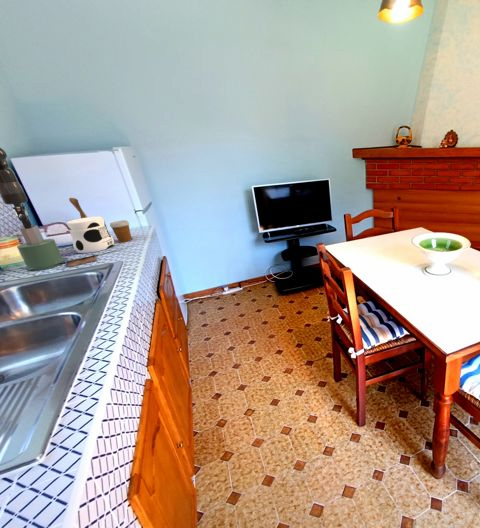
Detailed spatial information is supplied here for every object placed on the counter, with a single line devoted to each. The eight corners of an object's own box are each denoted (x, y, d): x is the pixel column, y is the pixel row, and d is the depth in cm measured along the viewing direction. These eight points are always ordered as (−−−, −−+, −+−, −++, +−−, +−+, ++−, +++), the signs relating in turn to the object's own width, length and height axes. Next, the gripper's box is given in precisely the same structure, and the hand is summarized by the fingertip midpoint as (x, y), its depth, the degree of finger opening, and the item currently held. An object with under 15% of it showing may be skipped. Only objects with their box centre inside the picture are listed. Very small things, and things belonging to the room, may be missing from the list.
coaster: (68, 267, 145) (68, 266, 144) (67, 262, 152) (66, 261, 152) (97, 260, 152) (96, 259, 151) (94, 256, 159) (93, 255, 159)
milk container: (77, 251, 168) (63, 220, 162) (114, 244, 179) (103, 214, 172) (77, 259, 156) (63, 225, 149) (117, 250, 166) (105, 218, 160)
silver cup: (27, 245, 140) (19, 229, 137) (27, 243, 144) (19, 227, 141) (44, 242, 144) (37, 226, 141) (44, 240, 148) (37, 224, 145)
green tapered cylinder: (27, 273, 140) (14, 249, 135) (27, 266, 149) (16, 244, 144) (66, 264, 149) (56, 241, 144) (64, 258, 158) (54, 237, 153)
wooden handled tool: (89, 247, 175) (69, 199, 165) (86, 241, 188) (67, 196, 178) (103, 244, 180) (85, 197, 169) (99, 238, 193) (82, 195, 182)
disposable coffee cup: (114, 244, 178) (106, 225, 174) (118, 240, 186) (111, 221, 182) (132, 242, 181) (125, 222, 177) (136, 237, 190) (130, 219, 185)
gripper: (1, 192, 137) (18, 226, 144) (-2, 195, 128) (16, 231, 134) (23, 190, 142) (39, 223, 148) (23, 192, 133) (39, 227, 139)
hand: (28, 227), depth 141 cm, fingers open, 8 cm apart
